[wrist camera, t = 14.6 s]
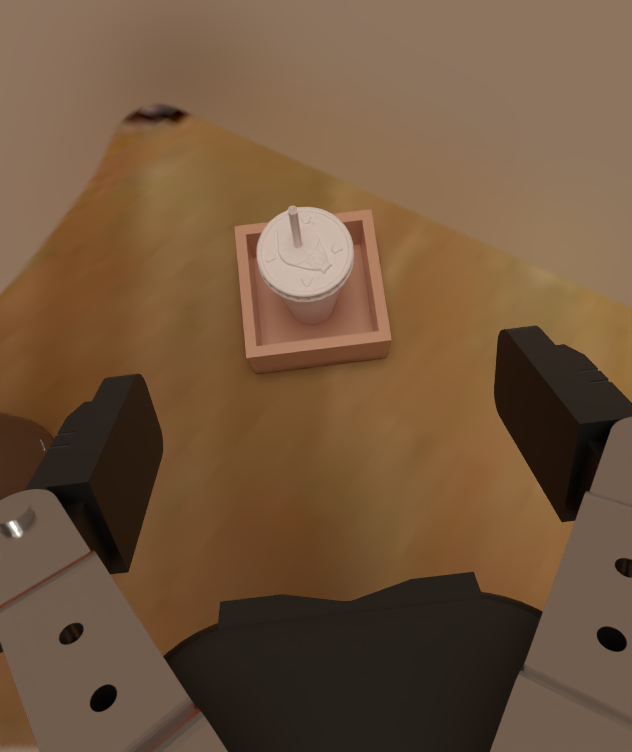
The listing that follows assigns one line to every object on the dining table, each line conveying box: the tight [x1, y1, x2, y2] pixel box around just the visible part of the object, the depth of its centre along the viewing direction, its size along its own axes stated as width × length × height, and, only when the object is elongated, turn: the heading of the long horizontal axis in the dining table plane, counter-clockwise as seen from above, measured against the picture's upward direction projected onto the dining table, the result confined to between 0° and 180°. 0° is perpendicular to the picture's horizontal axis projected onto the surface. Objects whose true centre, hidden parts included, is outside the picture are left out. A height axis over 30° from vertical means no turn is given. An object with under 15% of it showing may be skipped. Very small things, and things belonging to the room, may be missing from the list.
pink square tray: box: [235, 209, 391, 374], centre depth 43 cm, size 11×11×5 cm
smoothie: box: [257, 206, 354, 325], centre depth 37 cm, size 6×6×14 cm
